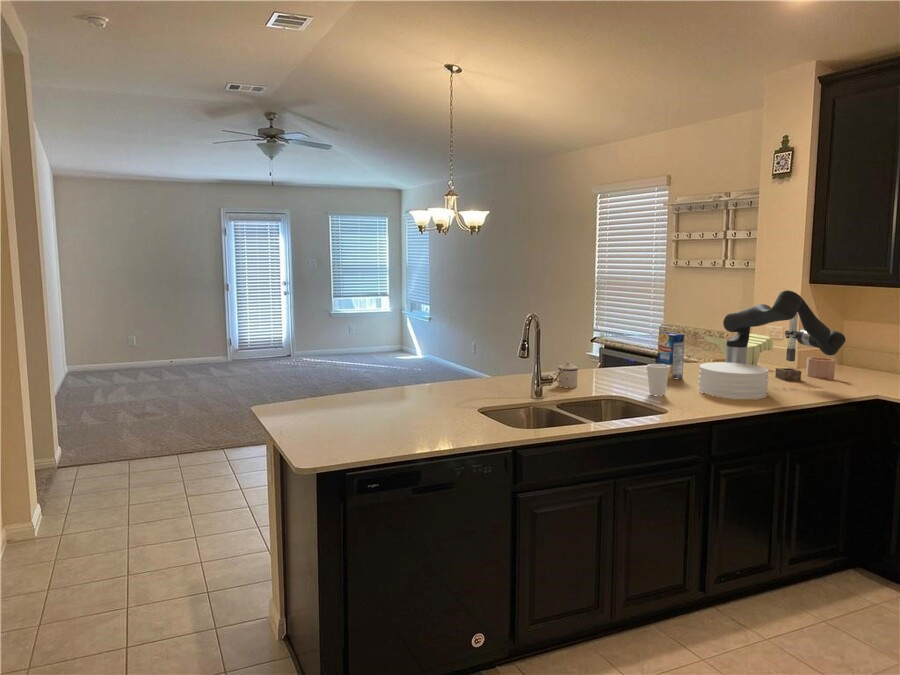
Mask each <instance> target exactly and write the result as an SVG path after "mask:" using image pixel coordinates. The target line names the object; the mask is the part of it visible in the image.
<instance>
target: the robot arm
mask: <svg viewBox="0 0 900 675" xmlns="http://www.w3.org/2000/svg"><path fill="white" fill-rule="evenodd" d="M797 313H798V314H799V315H798V317H799V318H800V322H801V325H802V329H800V330H797V331H789V330H785V331H784V335H785V338H786V339H788V338H790V337H791V338H793V339H796V341H797V342H798V343H799V344H800V345H803V346H807V347H811V348H813V347H814V348H816V349H819V351H821V352H822V353H823V354H824V355H826V356H835V355H836V354H837V353H838V352H839V350H840V349H841V348H842V347H843V345H844V344H845V343H846V336H845V335H844V334H843V333H842V332H839V331H836V330H830V328H829V327H828V326H827V325H825V323H824V322H822V321H821V320H820V319H819V318H818V317H817V316H816V315H815V313H814V312H813V311H812V309H811V308H810V306H809V305H808V304H807V302H806V301H805V300H804V299H803V297H802V296H801V295H799V293H797V292H795V291H792V290H790V289H789V290H788V289H787V290H782V291H780V293H779V294H778V296H777V298H776V300H775V302H774V303H773V305H772V306H769V305H767V304H765V303H761V304H757V305H753V306H751V307H749V308H746V309H744V310H741V311H737V312H730V313H728V314H727V315H726V316H725V317H724V319H723V328H724V330H725V331H727V332H729V333H737V334H736V335H735V336H733V337H731V338H729V339H726V340H727V346H726V353H725V361H724V363H741V364H746V361H747V345H748V341H749V334H751V328H754V327H761V326H764V325H768V324H770V323H775V322H783V321H790V319H792V318H794V317H795V316H796V314H797Z"/></svg>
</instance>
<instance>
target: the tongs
mask: <svg viewBox="0 0 900 675" xmlns="http://www.w3.org/2000/svg"><path fill="white" fill-rule="evenodd" d="M798 320H799V314H798V312H797V314H796V316H795V317H794V318H792V319H790V320H789V323H788V324H789V325H788V331H798V322H799V321H798ZM796 346H797V340H796V339H793V338H791V337H790V338H787V348H786V359H785V360H786V361H787V362H795V361H796V351H797V350H796V348H797V347H796Z"/></svg>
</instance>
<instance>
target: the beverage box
mask: <svg viewBox="0 0 900 675" xmlns="http://www.w3.org/2000/svg"><path fill="white" fill-rule="evenodd" d="M685 337H686V335H685V334H683V333H677V332H669V331H667V332H665V331H663V332H658V338H657V340H658V341H657V343H658V344H657V360H656V364H664V365H669V366H670V372H669V376H668V378H670V379H669V380H671V379H672V380H675V379H674V378H683V374H684V359H685V358H684V357H685V356H684V355H685Z"/></svg>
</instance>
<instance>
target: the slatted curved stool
mask: <svg viewBox="0 0 900 675" xmlns="http://www.w3.org/2000/svg"><path fill="white" fill-rule="evenodd" d="M727 340H728V339H725V338H723V337H722V338H721V337H717V336H710V335H705V341H706V342H709V343H712V344H713V345H717V346H718V347H719V350H720V353H722V354H726V346H727ZM773 347H774V341H773V339H772V337H770V336H768V335H762V334H756V333H750V334H749V341H748V345H747V361H746V364H749V365H755V366H758V361H759V358H760V356H761V355H760V354H762V353H763V352H765V351H771V352H773V349H774V348H773Z"/></svg>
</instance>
